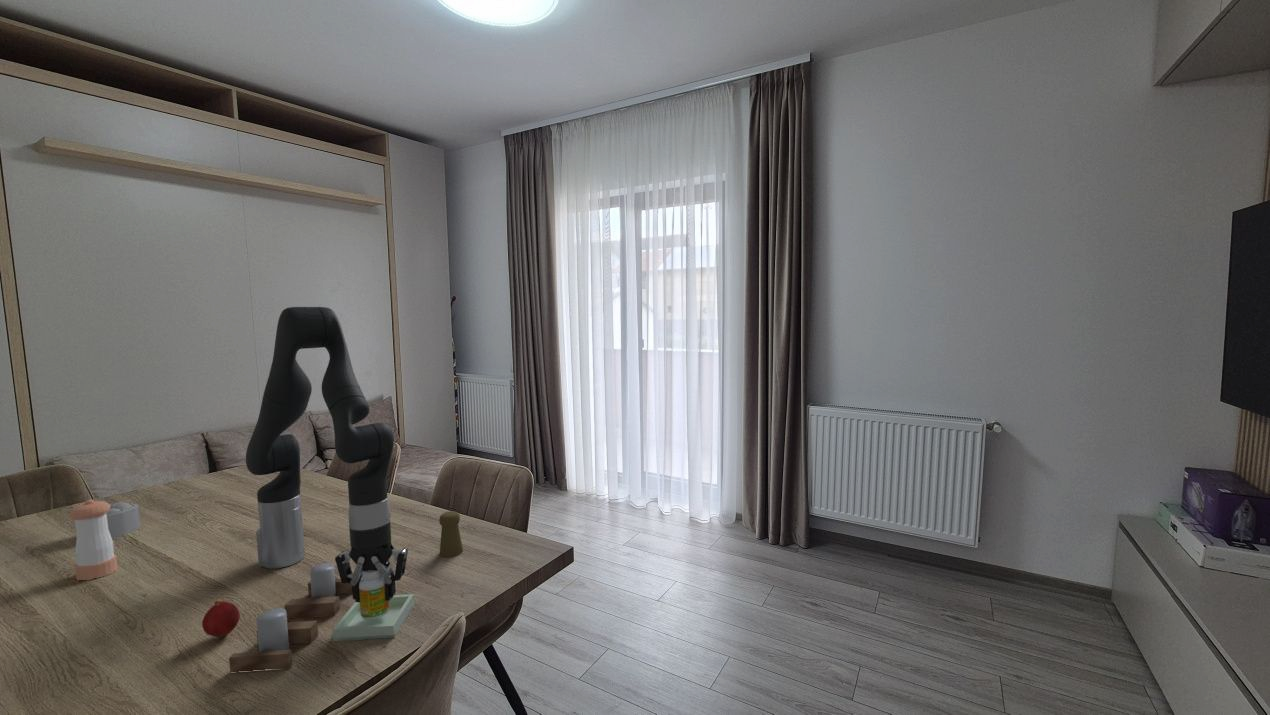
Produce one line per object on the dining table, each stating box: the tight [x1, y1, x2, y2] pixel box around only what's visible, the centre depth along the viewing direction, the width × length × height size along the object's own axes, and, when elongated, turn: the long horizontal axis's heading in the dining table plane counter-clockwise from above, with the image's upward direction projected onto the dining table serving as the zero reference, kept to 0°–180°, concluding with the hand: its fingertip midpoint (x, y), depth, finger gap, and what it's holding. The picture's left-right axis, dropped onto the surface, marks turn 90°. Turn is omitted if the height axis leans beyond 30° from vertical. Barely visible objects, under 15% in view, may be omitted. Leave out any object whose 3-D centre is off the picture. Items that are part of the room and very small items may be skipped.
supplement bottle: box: [359, 570, 389, 620], centre depth 107 cm, size 5×5×10 cm
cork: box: [438, 510, 464, 559], centre depth 139 cm, size 6×6×11 cm
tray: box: [332, 593, 415, 642], centre depth 108 cm, size 12×12×2 cm
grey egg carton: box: [75, 501, 141, 539], centre depth 155 cm, size 10×13×9 cm
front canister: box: [255, 608, 290, 652], centre depth 98 cm, size 5×5×8 cm
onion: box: [201, 599, 241, 639], centre depth 104 cm, size 6×6×8 cm
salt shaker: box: [69, 499, 118, 581], centre depth 130 cm, size 7×7×19 cm
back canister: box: [309, 562, 337, 598], centre depth 115 cm, size 5×5×8 cm
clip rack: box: [228, 578, 352, 672], centre depth 107 cm, size 10×27×3 cm, turn 4°
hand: (374, 599), depth 108 cm, fingers closed on supplement bottle, 5 cm apart
